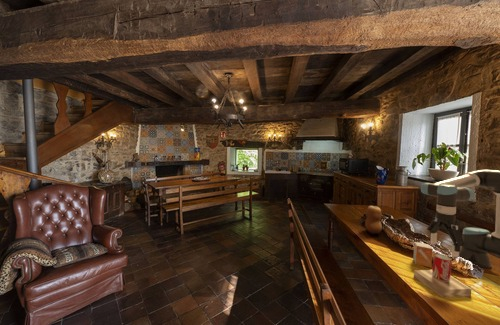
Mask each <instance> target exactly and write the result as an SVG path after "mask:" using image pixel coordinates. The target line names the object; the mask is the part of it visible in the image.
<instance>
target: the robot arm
mask: <svg viewBox="0 0 500 325" xmlns="http://www.w3.org/2000/svg"><path fill="white" fill-rule="evenodd" d="M475 187H477V188H478V187H480V188H488V189H492V193H493V194H494V195H496V196H495V198H496V201H495V230H494V231H493V232H491V231H490V230H488V229H484V228H479V227H464V228H463V229H462V233H461V228H460V225H455V224H454V223H455V222H456V218H457V217H456V213H457V202H468V201H471V200H473V199H474V198H475V192H474V191H473V189H471V188H475ZM420 192H421V193H422V194H424V195H427V196H433V197H436V212H435V217H434V216H433V217H432V218H431V222H430V223H429V225H428V227H427V229H426V230H427V231H429V233H430V234H429V235H430V244H429V245H437V240H438V231H440V229H441V230H442V229H443V230H444V231H445V232H446V233H447V235H448V236H449V238H450V239H451V241H452V244H451V257H453V258H458V257H459V256H460V257H462V258H464V259H466V260H469V261H471V262H472V263H473V264H475V265H478V266H480V267H479V268H485V269H488V268H489V269H490V268H491V267H492V262H491V260H490V256H489V253H491V254H492V255H495V256H498V257H500V170H497V169H478V170H474V171H468V172H465V173H463V174H461V176H456V177H453V178H449V179H445V180H442V181H438V182H433V183H431V182H424V183H422V184H421V186H420ZM478 266H477V267H478Z"/></svg>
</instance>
